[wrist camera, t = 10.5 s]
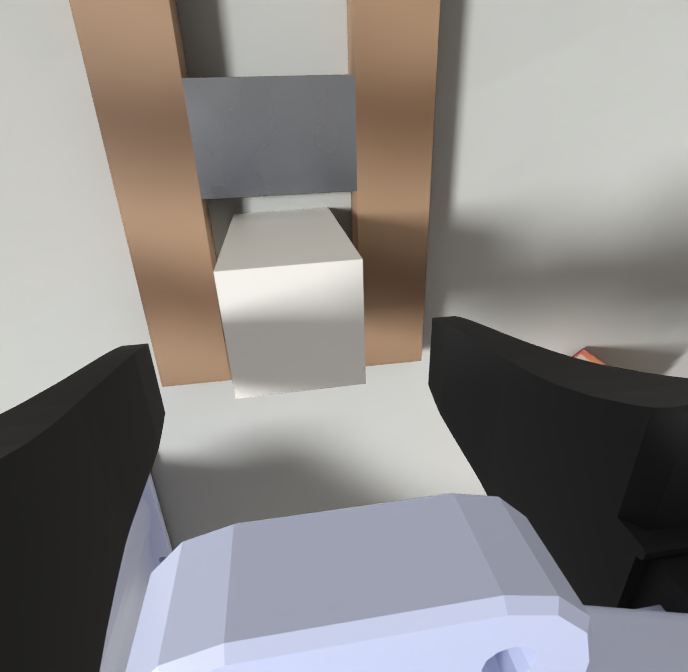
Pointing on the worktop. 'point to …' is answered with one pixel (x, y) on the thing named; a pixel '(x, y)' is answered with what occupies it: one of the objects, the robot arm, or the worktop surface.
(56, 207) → the worktop surface
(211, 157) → the socket panel
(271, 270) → the plug
